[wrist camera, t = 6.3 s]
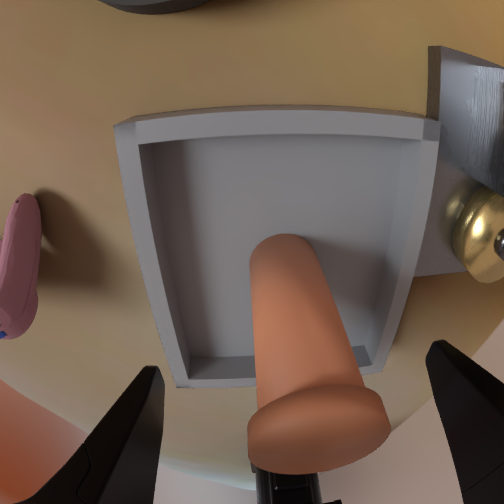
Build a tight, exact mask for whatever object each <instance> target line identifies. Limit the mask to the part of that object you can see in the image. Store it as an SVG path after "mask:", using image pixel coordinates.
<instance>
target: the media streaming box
mask: <svg viewBox="0 0 504 504" xmlns="http://www.w3.org/2000/svg"><path fill="white" fill-rule="evenodd" d="M99 1H101V2H103V3H105V4H108V5H110V6H112V7H114V8H117V9H119V10H123V11H126V12H131V13H137V14H164V13H172V12H177V11H182V10H186V9H189V8H192V7H196V6H198V5H201V4H204V3H206V2H208V1H210V0H99Z"/></svg>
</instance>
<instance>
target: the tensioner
mask: <svg viewBox="0 0 504 504" xmlns="http://www.w3.org/2000/svg"><path fill="white" fill-rule="evenodd" d="M426 117H428V118H432V119H435V120H438V121H441V127H440V138H439V147H438V155H437V163H436V170H435V177H434V183H433V189H432V195H431V201H430V206H429V211H428V217H427V222H426V226H425V231H424V236H423V240H422V244H421V249H420V253H419V257H418V261H417V265H416V269H415V272H414V276H413V277H418V276H428V275H438V274H447V273H456V272H465V271H468V272H469V273H470V274H471V275H472V276H473V277H474V278H475V279H476V280H477V281H479V282H482V283H491V282H495V281H498V280H500V279H502V278H503V277H504V67H502V66H500V65H497V64H494V63H492V62H489V61H487V60H484V59H481V58H478V57H475V56H472V55H469V54H466V53H463V52H460V51H457V50H454V49H450V48H447V47H444V46H428V98H427V115H426Z"/></svg>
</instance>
